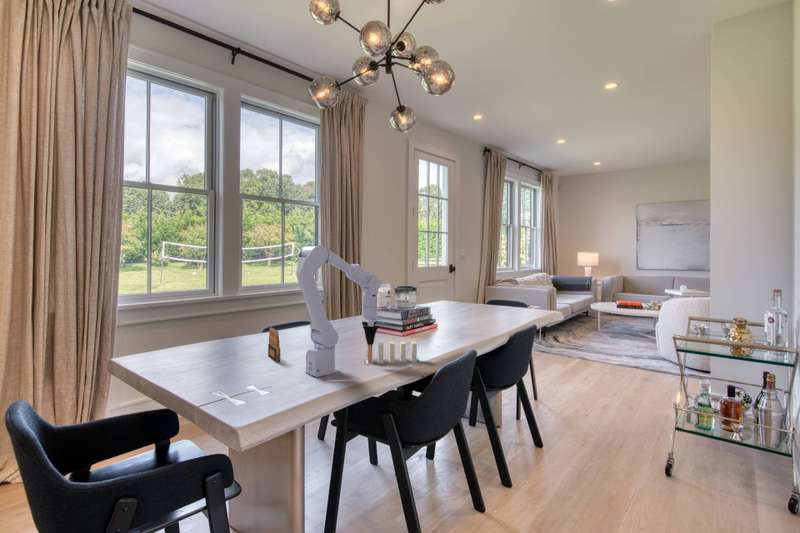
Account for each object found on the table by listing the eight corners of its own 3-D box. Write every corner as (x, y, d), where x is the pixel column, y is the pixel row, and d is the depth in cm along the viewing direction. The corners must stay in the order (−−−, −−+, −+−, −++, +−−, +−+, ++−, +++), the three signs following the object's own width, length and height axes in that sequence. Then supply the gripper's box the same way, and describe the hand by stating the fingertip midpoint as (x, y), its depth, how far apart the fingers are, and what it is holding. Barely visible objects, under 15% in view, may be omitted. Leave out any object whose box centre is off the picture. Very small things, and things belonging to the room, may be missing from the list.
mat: (364, 365, 150) (364, 364, 150) (363, 360, 157) (363, 359, 157) (420, 363, 153) (420, 362, 153) (417, 358, 160) (417, 357, 160)
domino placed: (368, 363, 152) (368, 344, 152) (367, 360, 156) (367, 342, 156) (372, 363, 152) (372, 344, 152) (371, 360, 156) (371, 342, 156)
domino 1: (379, 363, 152) (379, 344, 152) (378, 360, 156) (378, 342, 156) (383, 362, 153) (383, 344, 152) (382, 360, 157) (382, 341, 156)
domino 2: (390, 362, 153) (390, 344, 153) (389, 359, 157) (389, 341, 157) (394, 362, 153) (394, 344, 153) (393, 359, 157) (393, 341, 157)
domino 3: (401, 362, 154) (401, 343, 153) (399, 359, 158) (400, 341, 157) (405, 362, 154) (405, 343, 154) (404, 359, 158) (404, 341, 158)
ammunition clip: (268, 356, 163) (267, 326, 163) (272, 355, 164) (272, 326, 164) (275, 362, 154) (275, 331, 154) (280, 361, 155) (280, 330, 155)
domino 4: (412, 361, 154) (412, 343, 154) (410, 359, 158) (410, 341, 158) (416, 361, 154) (416, 343, 154) (414, 359, 158) (414, 341, 158)
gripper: (382, 308, 147) (382, 346, 147) (378, 303, 161) (378, 338, 161) (362, 309, 146) (362, 346, 146) (360, 304, 160) (360, 338, 160)
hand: (369, 342), depth 154 cm, fingers open, 7 cm apart
